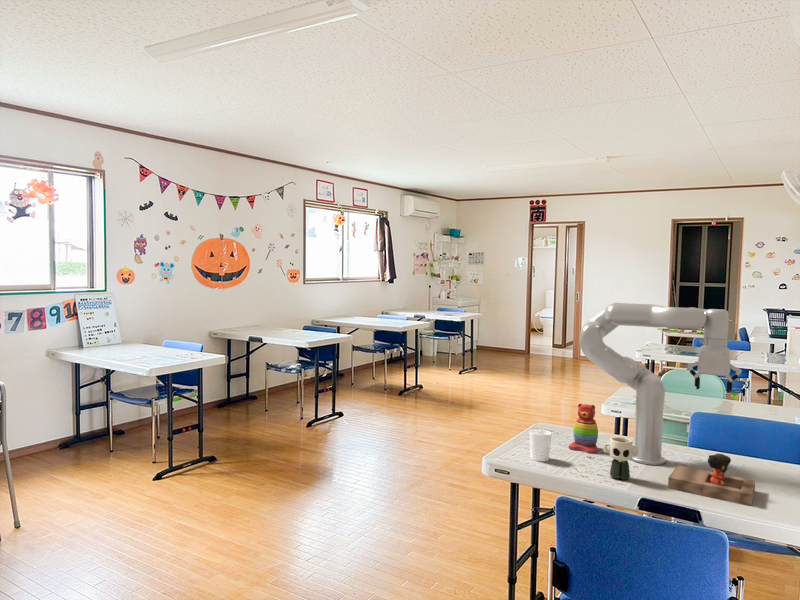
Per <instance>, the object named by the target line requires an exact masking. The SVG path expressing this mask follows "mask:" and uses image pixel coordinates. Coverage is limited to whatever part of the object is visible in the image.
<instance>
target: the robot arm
mask: <svg viewBox="0 0 800 600" xmlns="http://www.w3.org/2000/svg"><path fill="white" fill-rule="evenodd" d="M729 317H730V316H729V311H728V310H726V309H718V308H717V309H716V308H708V309H707V308H706V309H705V308H697V307H677V306H676V307H675V306H663V305H658V304H652V303H650V304H649V303H627V302H611V303H610V304H609V305H607V306H606V307H605V309H603V310H602V311H601V312H599V313H598V314H597V315H595V316H594V317H593V318H592V319H590V320H589V321H587V322H586V323H585V324H584V325H583V326H582V328H581V330H580V333H579V346H580V348H581V351H582V353H583V354H584V356H585V357H586V358H587V359H588V360H589V361H590V362H591V363H592V364H594V365H595V366H597V367H598V368H600V370H601V371H604V372H605V373H606V374H608V375H609V376H610V377H612V378H613V379H615V380H616V381H617V382H619V383H620V384H625V385H627V386H629V388H632V390H634V391H636V392H635V395H636V397H635V410H634V411H635V412H634V413H635V414H634V415H635V417H634V418H635V419H634V434H633V435H634V436H633V437H634V438H633V439H634V440H633V446H636V447H638V456H632V458H631V460H630V461H633V462H636V463H640V464H644V465H650V466H660V465H664V464H666V463H667V462H666V460H667V459H666V458H665V457H663V456H662V446H663V425H664V424H663V423H664V408H665V407H664V406H665V398H666V389H665V385H664V383H663V381H662V379H661V378H660V377H659V376H658V375H657V374H655V373H653V372H652V371H650V369H648V368H646V367H645V366H644V365H642V364H640V362H638V361H636V360H634V359H633V358H631V357H630V356H629V357H628V356H623V355H621V354H620V353H618V352H617V351H616V350H614V349H613V348H611V347H609V346H608V345H606V343H605V342H604V338H605V337H606V336H607V335H609V334H610V333H611V332H613V331H614V330H615V329H616V328H618V327H620V326H626V327H627V326H628V327H645V328H670V329H683V330H685V329H687V330H698V329H701V328H703V338H699V340H698V343H699V344H702V345H701V346H700V348H699V352H698V359H697V361H694V362H692V363H689V364H687V365H686V367H687V369H688V371H689V373H690V375H691V376H693V378H694V387H696V390H699V389H700V388H701V377H700V376H701V375H709V376H718V377H725V378H726V380H727V382H726V393H727V394H730V392H732V390H733V382H734V381H735V380H736V379H738V378H739V377H740V376H741V374H742V372H743V370H742V369H741V368H739V367H737V366H735V365H734V364H732V363H731V352H730V348H729V347H728V336H729V333H728V332H729ZM696 366H697V372H696V371H695V370H694V368H693V367H696ZM731 370H733V371H734V372H735V373H734V375H733V376H732V375H731ZM632 453H635V449H632Z"/></svg>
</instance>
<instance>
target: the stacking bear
mask: <svg viewBox="0 0 800 600" xmlns="http://www.w3.org/2000/svg"><path fill="white" fill-rule="evenodd" d="M577 415H578V417H577V418H576V419H575V420H576V421H575V422H574V426H573V433H572V434H573V439H574V441H573V442H571V443H569V445H568V449H569V450H572V451H578V452H583V453H584V452H585V453H587V454H590V455H591V454H593V455H595V454H597V453H598V451H599V449H598V448H599V447H598V446H597V442H598V439H599V438H598V437H599V429H598V424H597V421H596V420H595V416H596V406H595V405H594V404H585V403H584V404H583V403H578V405H577Z"/></svg>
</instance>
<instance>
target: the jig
mask: <svg viewBox="0 0 800 600" xmlns="http://www.w3.org/2000/svg"><path fill="white" fill-rule="evenodd" d="M713 472H714V471H708V470H702V469H697V468H693V467H687V466H681V465H676V466H675V468H674V469H673V471H672V472H671V473H670V475H669V476H668V482H667V489H671V490H675V491H681V492H684V493H690V494H694V495H698V496H703V497H707V498H708V497H709V498H712V499H716V500H722V501H726V502H731V503H734V504H735V503H736V504H740V505H745V506H750V507H752V505H753V501H754V497H755V491H756V480H755V479H750V478H745V477H740V476H739V477H738V476H734V475H728V474H724V477H725V480H724V481H725V483H726V484H727V486H722V485H717V484H712V483H711V482H710V479H711V478H712V477H713V475H712V474H713Z"/></svg>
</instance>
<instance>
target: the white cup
mask: <svg viewBox="0 0 800 600" xmlns="http://www.w3.org/2000/svg"><path fill="white" fill-rule="evenodd" d="M551 445H552V432H551V431H549V430H546V429H530V430H529V453H530V454H529V456H530V457H529V458H530V459H531V460H532V461H536V462H548V461H549V460H550V451H551Z"/></svg>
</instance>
